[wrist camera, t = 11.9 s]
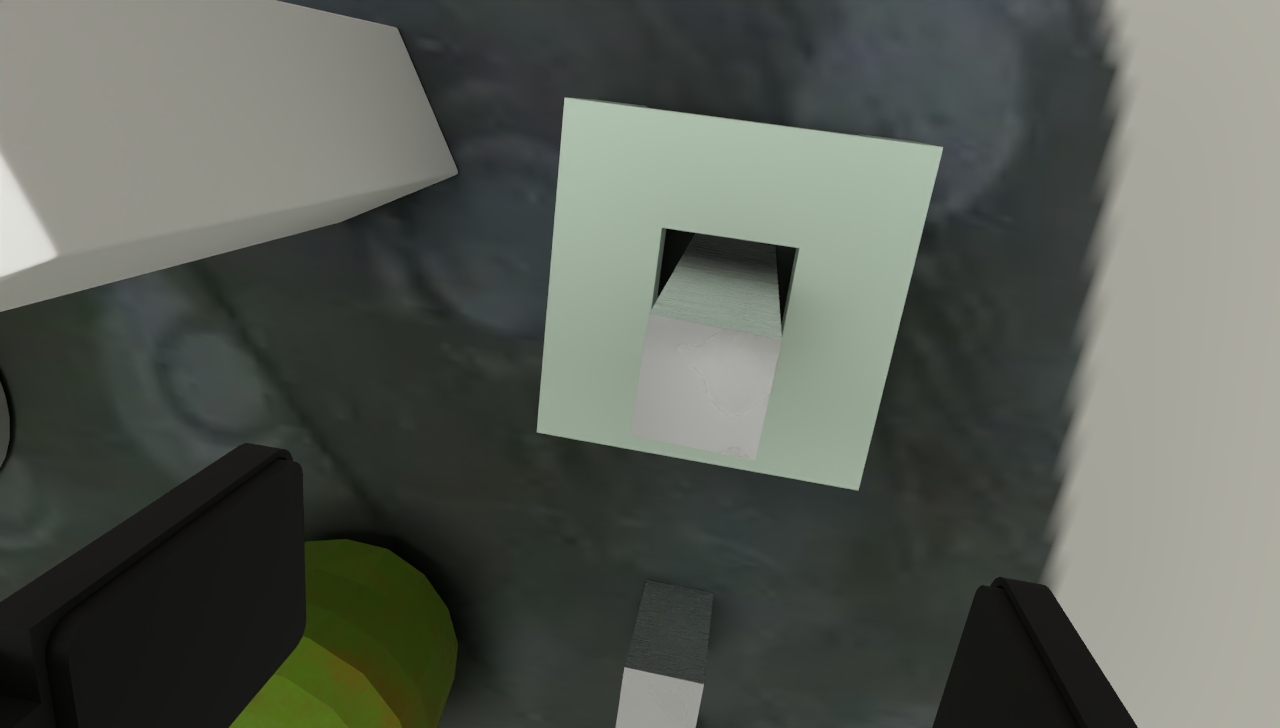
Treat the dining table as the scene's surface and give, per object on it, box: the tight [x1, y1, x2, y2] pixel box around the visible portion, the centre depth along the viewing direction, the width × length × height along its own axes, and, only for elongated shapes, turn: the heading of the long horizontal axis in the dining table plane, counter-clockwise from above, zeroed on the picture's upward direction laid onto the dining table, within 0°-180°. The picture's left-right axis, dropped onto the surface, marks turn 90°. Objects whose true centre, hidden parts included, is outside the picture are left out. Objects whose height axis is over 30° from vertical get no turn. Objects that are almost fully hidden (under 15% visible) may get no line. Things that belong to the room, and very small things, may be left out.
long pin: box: [630, 233, 782, 460], centre depth 25 cm, size 3×3×13 cm
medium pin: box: [616, 580, 714, 728], centre depth 33 cm, size 3×3×6 cm
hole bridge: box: [537, 98, 943, 490], centre depth 28 cm, size 12×12×5 cm
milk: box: [0, 0, 458, 312], centre depth 21 cm, size 6×6×22 cm
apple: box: [229, 539, 458, 728], centre depth 34 cm, size 12×12×11 cm
